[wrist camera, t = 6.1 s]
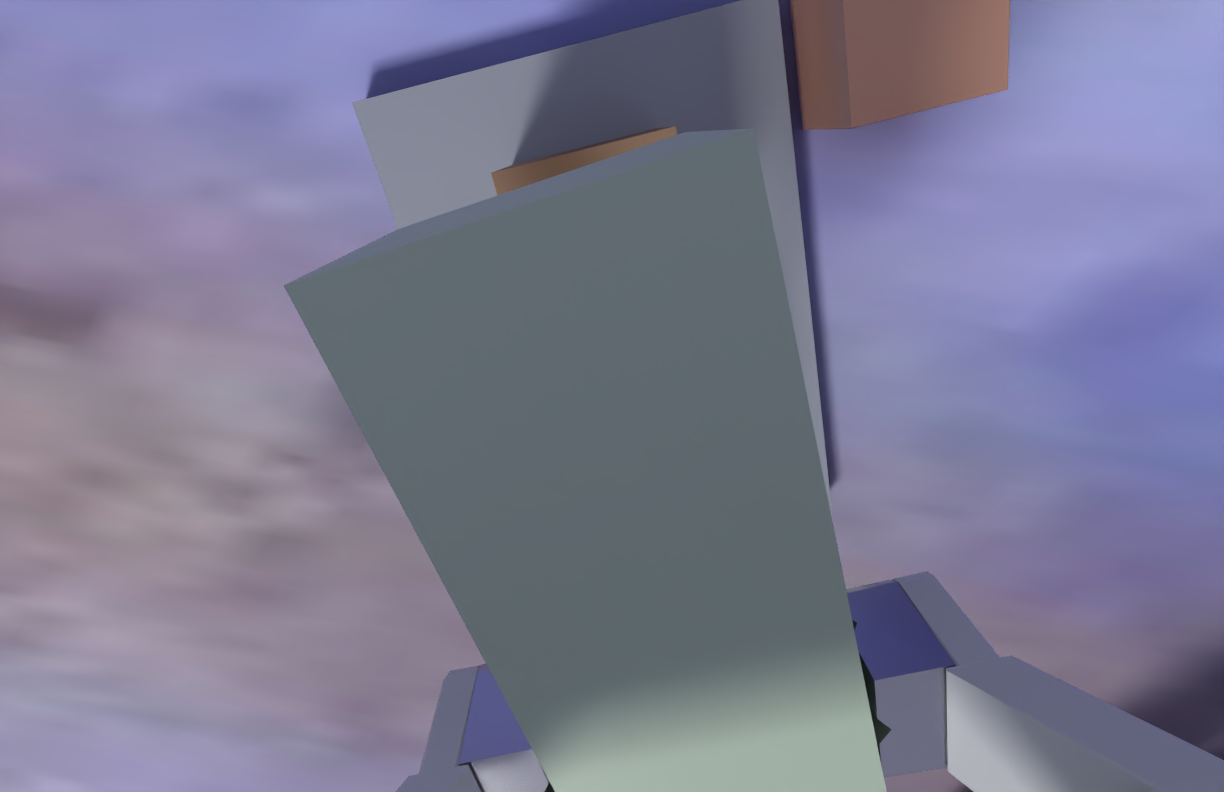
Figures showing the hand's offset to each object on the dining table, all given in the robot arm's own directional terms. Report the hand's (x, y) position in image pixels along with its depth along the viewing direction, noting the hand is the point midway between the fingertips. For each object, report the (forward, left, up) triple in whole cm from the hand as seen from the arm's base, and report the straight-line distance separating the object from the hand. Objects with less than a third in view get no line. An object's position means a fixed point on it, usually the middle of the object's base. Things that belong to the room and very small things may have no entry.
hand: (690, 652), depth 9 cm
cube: (-10, -8, -17) cm, 21 cm away
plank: (0, 0, -2) cm, 2 cm away
